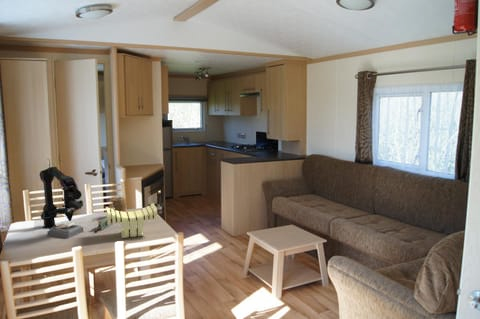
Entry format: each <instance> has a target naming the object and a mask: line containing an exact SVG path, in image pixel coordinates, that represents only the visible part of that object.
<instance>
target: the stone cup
mask: <svg viewBox="0 0 480 319" xmlns="http://www.w3.org/2000/svg"><path fill="white" fill-rule="evenodd" d="M111 201H112V205H113V208H114V211H116V210H117V211H119V214H120V211H122V212H126V213H127V216H128V212H129V211H127V202H126V197H124V196H121V197H116V198H113V199H112V200H111ZM120 218H121V215H120ZM128 218H129V216H128Z"/></svg>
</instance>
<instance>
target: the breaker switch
mask: <svg viewBox="0 0 480 319" xmlns="http://www.w3.org/2000/svg"><path fill="white" fill-rule="evenodd" d="M62 224H63V225H60V224H59V225H60V226H58V227H56V229H60V228H64V227H69V226H71V225H76V223H75V222H74V221H73V222H69V223H62Z"/></svg>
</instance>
